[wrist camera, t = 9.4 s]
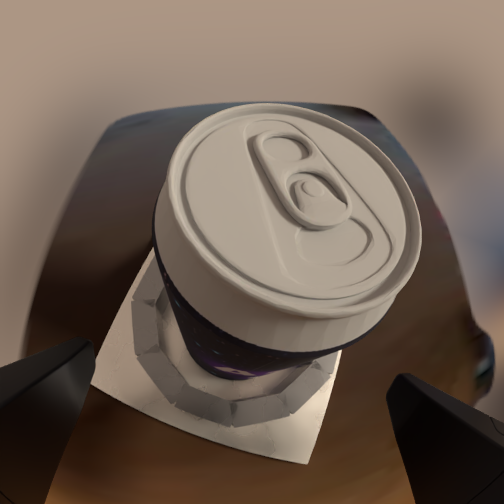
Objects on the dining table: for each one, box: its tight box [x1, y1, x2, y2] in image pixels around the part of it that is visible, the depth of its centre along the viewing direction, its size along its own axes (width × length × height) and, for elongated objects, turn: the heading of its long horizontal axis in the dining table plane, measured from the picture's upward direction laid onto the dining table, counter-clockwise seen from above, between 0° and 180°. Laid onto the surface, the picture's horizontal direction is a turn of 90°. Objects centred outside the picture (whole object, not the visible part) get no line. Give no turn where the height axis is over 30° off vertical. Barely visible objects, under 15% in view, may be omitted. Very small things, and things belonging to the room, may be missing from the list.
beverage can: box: [152, 103, 421, 381], centre depth 10 cm, size 6×6×12 cm
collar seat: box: [90, 248, 342, 464], centre depth 14 cm, size 13×13×3 cm
